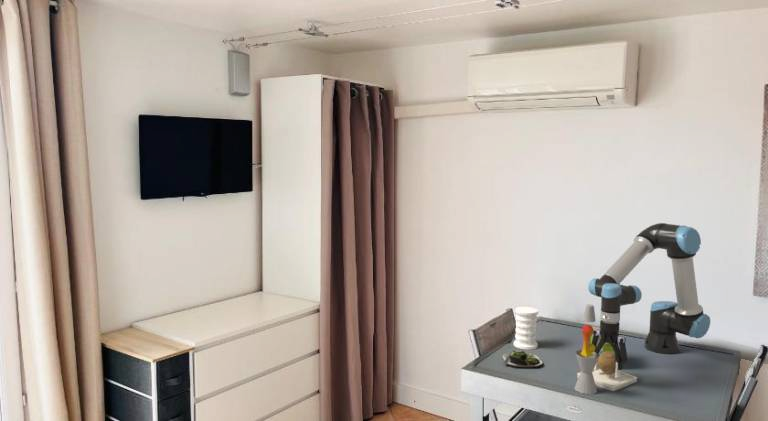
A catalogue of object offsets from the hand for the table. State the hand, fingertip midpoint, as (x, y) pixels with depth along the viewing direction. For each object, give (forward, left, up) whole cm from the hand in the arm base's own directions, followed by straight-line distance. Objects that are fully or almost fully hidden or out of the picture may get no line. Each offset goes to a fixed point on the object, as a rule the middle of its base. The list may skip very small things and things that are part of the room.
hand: (607, 373), depth 247 cm
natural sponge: (0, 0, -1) cm, 1 cm away
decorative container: (-5, -48, -3) cm, 48 cm away
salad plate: (+14, -34, -3) cm, 37 cm away
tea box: (-16, -13, -3) cm, 21 cm away
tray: (0, 0, -3) cm, 3 cm away
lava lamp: (+16, +1, -3) cm, 16 cm away
